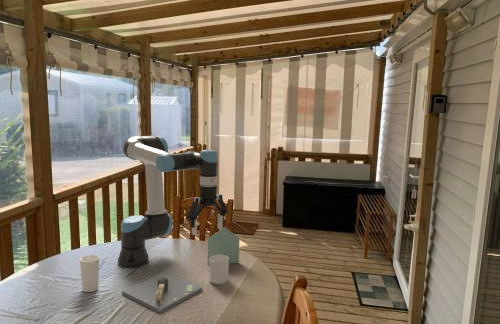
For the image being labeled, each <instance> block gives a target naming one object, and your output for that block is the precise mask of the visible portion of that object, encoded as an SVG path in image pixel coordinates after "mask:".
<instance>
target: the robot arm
mask: <svg viewBox="0 0 500 324" xmlns="http://www.w3.org/2000/svg"><path fill="white" fill-rule="evenodd" d="M122 153H123V154H124V156H125V157H127V158H128V159H131V160H132V161H133V160H134V161H141V162H142V163H143V165H144V169H145V170H144V171H145V184H146V188H145V189H146V201H147V210H146V211H145V212H144V216H143V215H139V214H137V215H130V216H128V217H126V218H124V219H122V221H121V224H120V243H121V245H120V246H121V249H120V251H119V254H118V255H119V256H118V258H117V264H118V266H119V267H122V268H126V269H131V268H139V267H143V266H145V265H146V264H148V263H149V262H150V261H149V260H150V258H149V255H148V254H149V253H148V251H147V248H146V241H147V240H152V239H157V238H162V237H165V236H168V235H169V234H170V233H171V232H172V229H173V222H174V221H173V218H172V216H171V214H170V213H168V210H167V209H166V208H165V196H164V194H165V193H164V180H163V179H164V178H163V173H165V172H166V173H169V172H176V171H177V172H178V171H184V170H185V171H188V170H198V171H199V197H196V196H194V197H193V198H192V199H193V200H192V203H191V206H190V208H189V211H188V213H187V214H186V217H185V218H186V219H187V220H189V221H190V227H191V234H192V235H193V236H197V235H198V234H197V231H198V230H197V229H198V226H197V225H198V220H196V219H197V218H198V217H199V215H200V213H201V212H202V211H203V209H205V208H206V207H214V209H215V210H216V211H217V212H218V214H217V229H219V230H222V228H223V223H224V219H225V218H224V217H225V216H226V214H228V213H229V212H228V209H227V207H226V204H225V202H224V199H223V194H221V193H218V186H217V184H218V163H219V160H218V151H217V150H215V149H202V150H200V152H198V151H197V152H196V151H192V150H191V151H186V152H180V153H171V152H169V145H168V142H167V140H166V139H165V138H164V137H163V136H160V135H142V136H141V135H139V136H138V135H137V136H131V137H129V138H128V139H127V140H125V141H124V144H123V146H122ZM216 200H217V201H218V203H217V201H216Z"/></svg>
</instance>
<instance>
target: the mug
mask: <svg viewBox="0 0 500 324" xmlns="http://www.w3.org/2000/svg"><path fill="white" fill-rule="evenodd" d="M229 265H230V263H229V257H227V256H225V255H214V256H211V257H210V264H209V277H208V278H209V281H210V282H211V283H212V284H214V285H220V286H221V285H224V284H226V283H227V282H228V281H229V270H230V269H229V268H230V266H229Z"/></svg>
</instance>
